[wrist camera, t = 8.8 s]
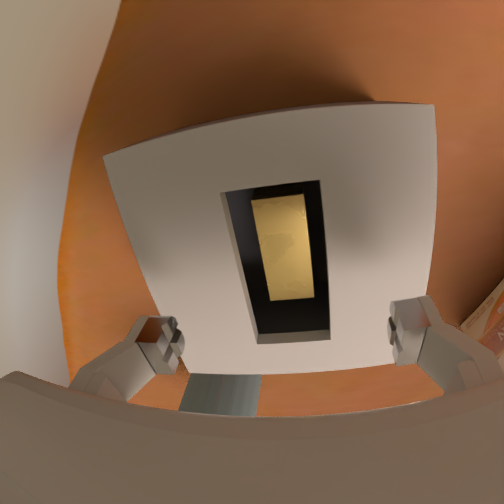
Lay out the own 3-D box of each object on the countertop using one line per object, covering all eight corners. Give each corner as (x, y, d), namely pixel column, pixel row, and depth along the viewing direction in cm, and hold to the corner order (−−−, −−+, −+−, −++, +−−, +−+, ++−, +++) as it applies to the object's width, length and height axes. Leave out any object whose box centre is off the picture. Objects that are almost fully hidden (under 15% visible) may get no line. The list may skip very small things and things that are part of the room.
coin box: (375, 100, 16) (433, 104, 8) (381, 278, 23) (410, 360, 15) (174, 130, 19) (102, 156, 11) (218, 292, 26) (189, 372, 18)
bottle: (264, 340, 28) (240, 487, 15) (262, 381, 31) (243, 503, 18) (195, 333, 29) (144, 466, 16) (203, 373, 32) (168, 488, 19)
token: (300, 166, 19) (303, 194, 13) (310, 246, 21) (314, 297, 16) (263, 171, 19) (250, 200, 14) (277, 250, 22) (270, 300, 17)
